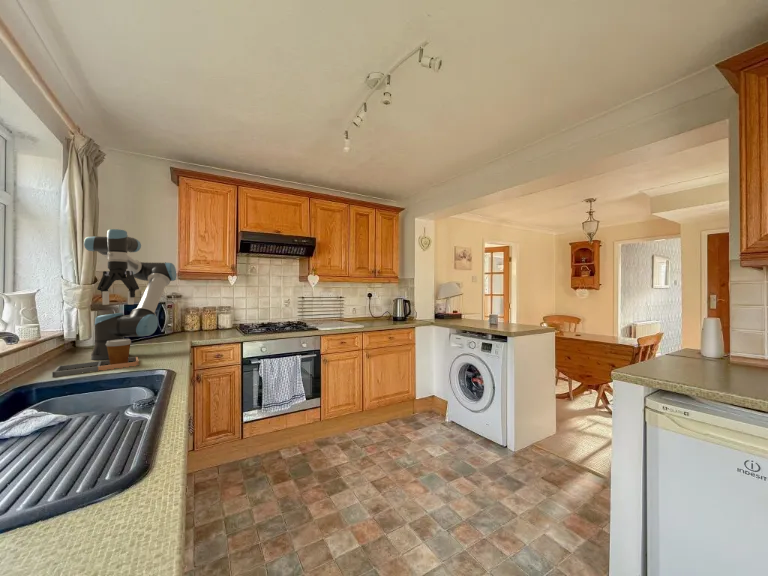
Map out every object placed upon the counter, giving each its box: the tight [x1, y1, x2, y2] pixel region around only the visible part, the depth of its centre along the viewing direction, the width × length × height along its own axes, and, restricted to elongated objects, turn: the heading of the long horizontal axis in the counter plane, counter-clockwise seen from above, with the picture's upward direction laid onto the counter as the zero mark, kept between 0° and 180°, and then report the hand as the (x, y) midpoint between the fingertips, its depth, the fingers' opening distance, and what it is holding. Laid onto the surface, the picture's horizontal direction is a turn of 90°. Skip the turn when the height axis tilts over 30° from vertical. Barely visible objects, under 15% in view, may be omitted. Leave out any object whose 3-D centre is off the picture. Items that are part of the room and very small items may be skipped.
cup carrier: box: [52, 356, 140, 378], centre depth 147 cm, size 15×28×2 cm, turn 129°
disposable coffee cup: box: [106, 338, 132, 365], centre depth 151 cm, size 10×10×12 cm
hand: (118, 304), depth 157 cm, fingers open, 13 cm apart
